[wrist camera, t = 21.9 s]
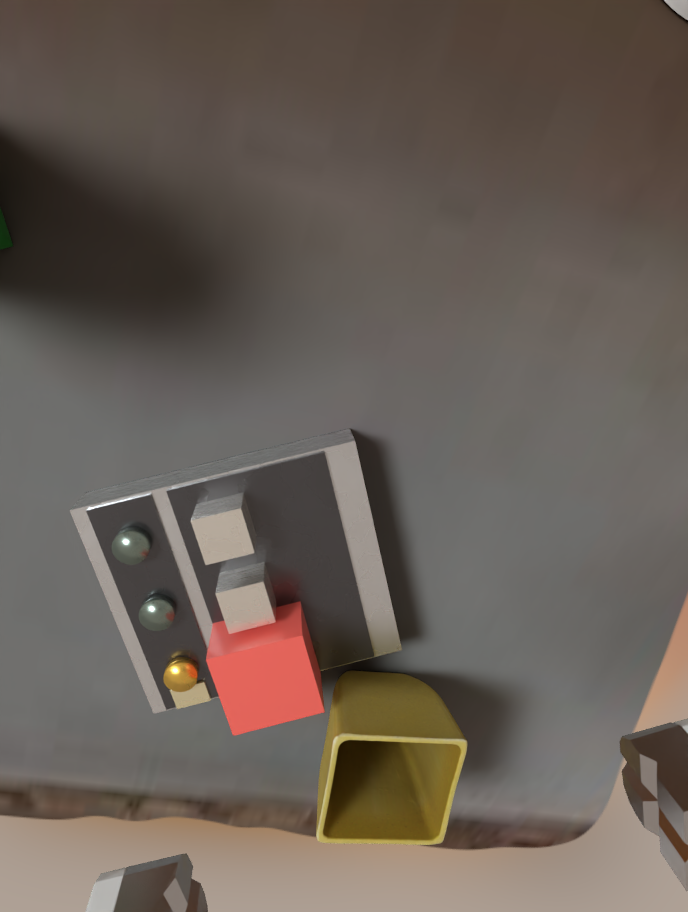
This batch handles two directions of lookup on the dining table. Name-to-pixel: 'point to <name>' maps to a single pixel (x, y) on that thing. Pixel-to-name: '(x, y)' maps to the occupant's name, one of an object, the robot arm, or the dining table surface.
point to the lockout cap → (266, 671)
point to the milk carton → (4, 234)
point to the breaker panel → (239, 560)
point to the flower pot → (387, 762)
